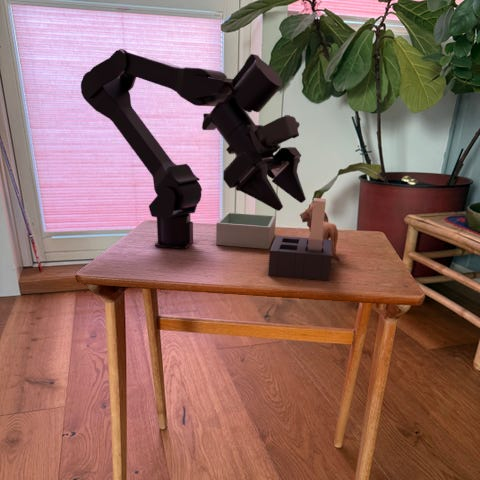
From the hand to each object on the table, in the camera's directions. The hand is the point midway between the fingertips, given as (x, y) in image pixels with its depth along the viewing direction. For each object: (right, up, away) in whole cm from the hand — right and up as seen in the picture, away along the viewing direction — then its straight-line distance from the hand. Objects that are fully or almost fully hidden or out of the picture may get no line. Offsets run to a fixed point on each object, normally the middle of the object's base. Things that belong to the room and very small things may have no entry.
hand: (292, 205), depth 78 cm
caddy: (+2, -10, +5) cm, 12 cm away
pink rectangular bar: (+4, -12, +3) cm, 12 cm away
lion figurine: (+7, -6, +15) cm, 18 cm away
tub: (-8, -2, +22) cm, 23 cm away
